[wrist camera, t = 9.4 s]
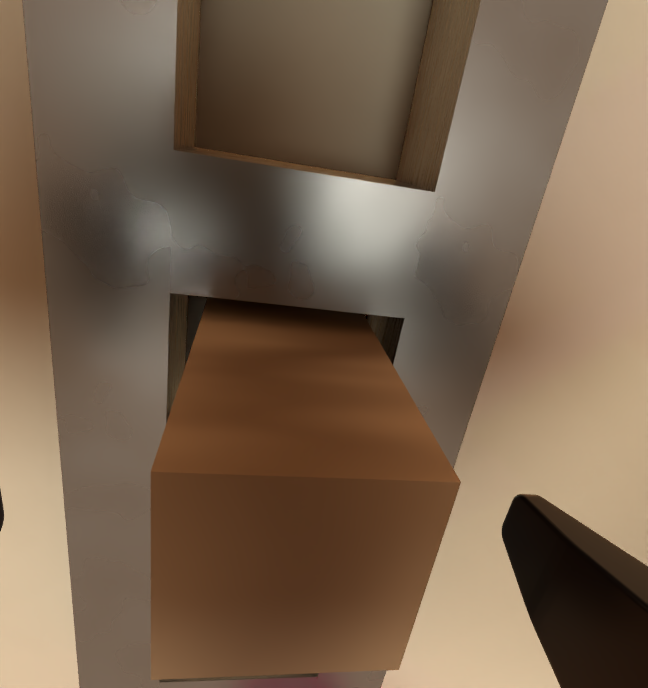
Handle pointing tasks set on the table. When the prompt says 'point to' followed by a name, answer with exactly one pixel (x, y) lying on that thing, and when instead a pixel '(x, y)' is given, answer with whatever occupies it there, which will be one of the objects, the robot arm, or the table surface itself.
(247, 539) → the walnut peg
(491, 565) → the table surface
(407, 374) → the grey peg hole board
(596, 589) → the robot arm
